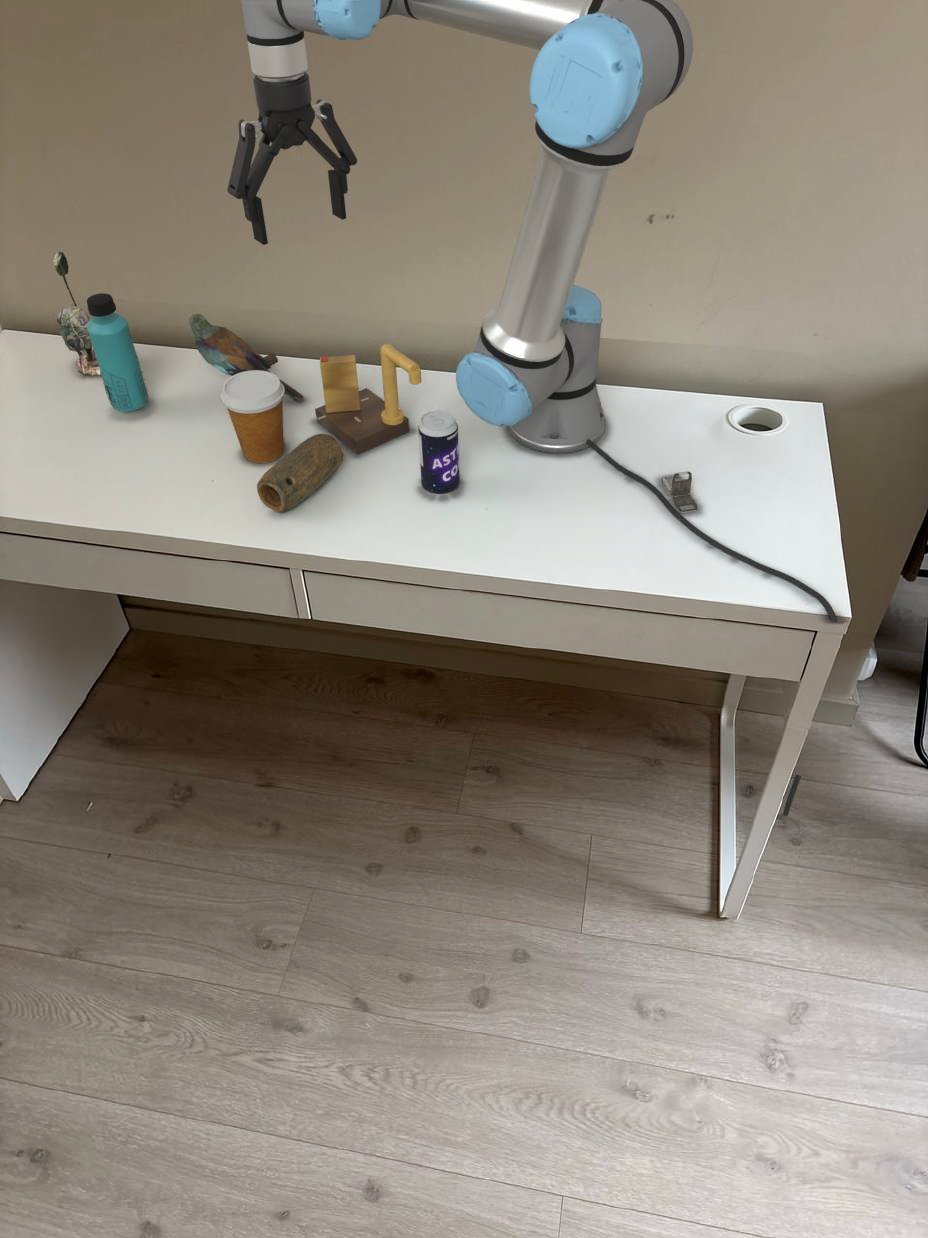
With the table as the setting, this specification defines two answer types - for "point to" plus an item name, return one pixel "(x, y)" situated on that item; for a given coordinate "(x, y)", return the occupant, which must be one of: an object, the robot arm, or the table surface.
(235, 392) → the disposable coffee cup
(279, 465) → the brown cylindrical piece
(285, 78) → the robot arm
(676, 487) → the strap clip
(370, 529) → the table surface
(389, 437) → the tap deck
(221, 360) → the bird figurine
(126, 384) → the beverage bottle
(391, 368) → the tap spout
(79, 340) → the plant with pod
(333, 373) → the tap handle
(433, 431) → the beverage can
